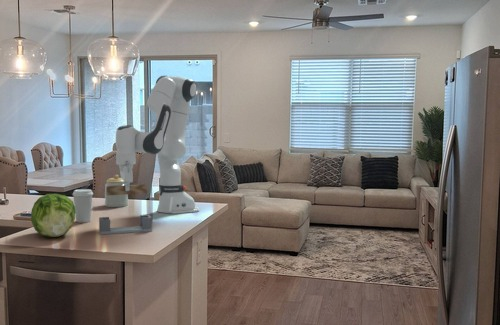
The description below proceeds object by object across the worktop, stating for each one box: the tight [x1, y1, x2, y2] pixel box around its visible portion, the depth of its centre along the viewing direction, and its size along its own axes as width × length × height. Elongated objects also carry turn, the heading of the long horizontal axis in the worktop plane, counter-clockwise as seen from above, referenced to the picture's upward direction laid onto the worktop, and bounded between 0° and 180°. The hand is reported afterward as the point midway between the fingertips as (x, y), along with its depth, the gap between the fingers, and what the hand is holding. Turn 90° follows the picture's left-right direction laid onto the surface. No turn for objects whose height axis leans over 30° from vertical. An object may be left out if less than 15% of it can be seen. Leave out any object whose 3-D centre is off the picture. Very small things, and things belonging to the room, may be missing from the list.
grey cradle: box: [98, 214, 153, 235], centre depth 222 cm, size 22×7×6 cm, turn 110°
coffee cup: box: [72, 188, 94, 224], centre depth 241 cm, size 10×10×15 cm
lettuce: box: [30, 193, 76, 238], centre depth 212 cm, size 18×23×19 cm
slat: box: [105, 183, 148, 195], centre depth 235 cm, size 18×3×4 cm, turn 109°
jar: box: [104, 174, 129, 208], centre depth 286 cm, size 13×13×18 cm
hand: (126, 190), depth 235 cm, fingers closed on slat, 3 cm apart
